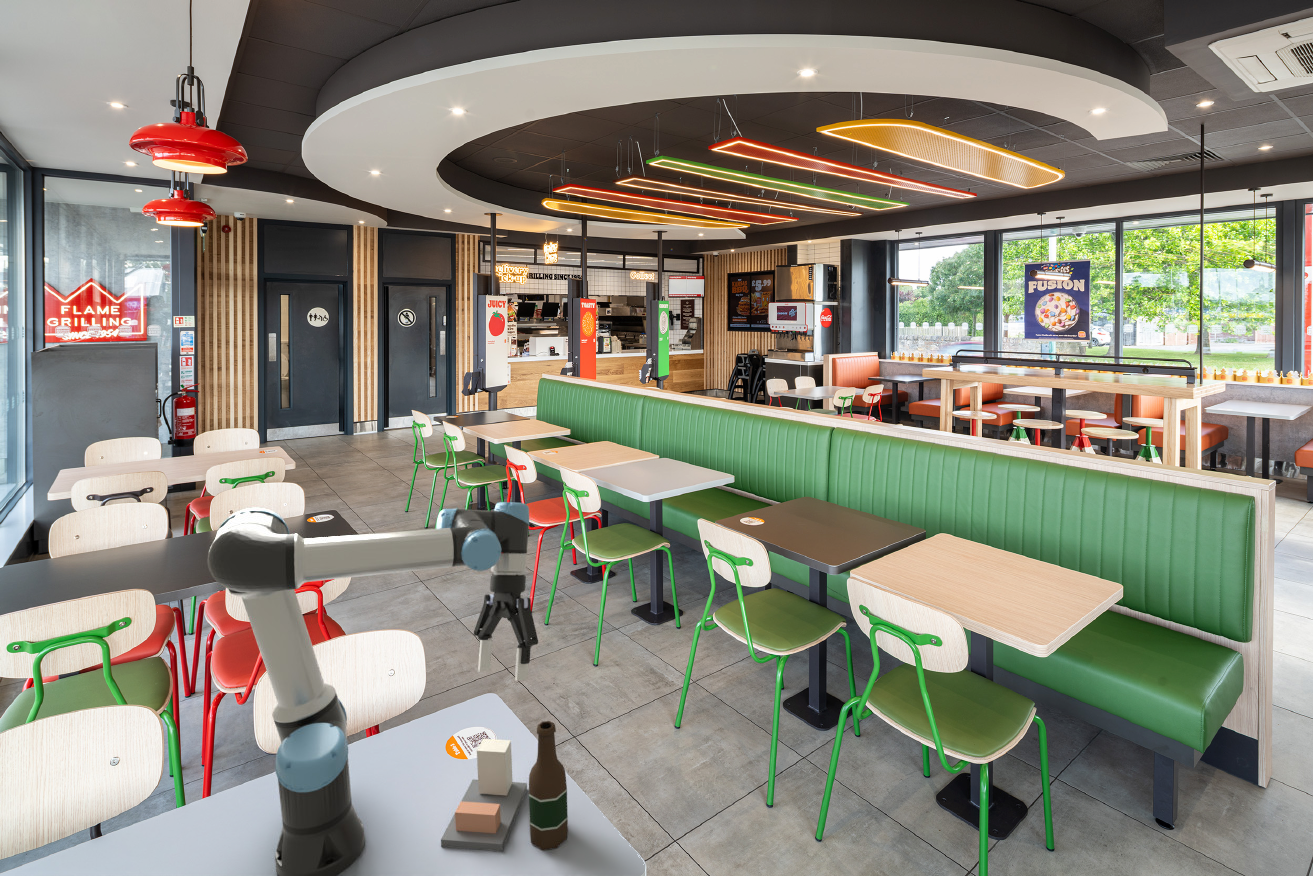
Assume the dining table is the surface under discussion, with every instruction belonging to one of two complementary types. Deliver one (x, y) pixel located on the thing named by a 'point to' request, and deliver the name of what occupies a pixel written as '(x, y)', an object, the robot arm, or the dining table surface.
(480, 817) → the peach rectangular block
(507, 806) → the base
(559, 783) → the beer bottle
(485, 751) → the cream tall block
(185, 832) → the dining table surface
